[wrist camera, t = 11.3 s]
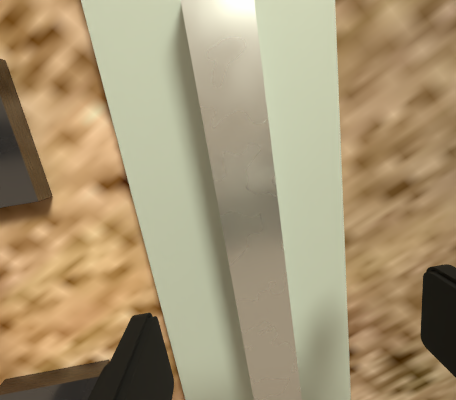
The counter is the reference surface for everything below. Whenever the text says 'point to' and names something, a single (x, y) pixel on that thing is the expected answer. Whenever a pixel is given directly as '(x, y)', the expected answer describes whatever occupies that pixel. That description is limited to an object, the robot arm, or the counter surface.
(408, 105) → the counter surface
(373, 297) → the counter surface
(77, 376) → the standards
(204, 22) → the rail
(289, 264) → the board
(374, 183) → the counter surface
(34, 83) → the counter surface
